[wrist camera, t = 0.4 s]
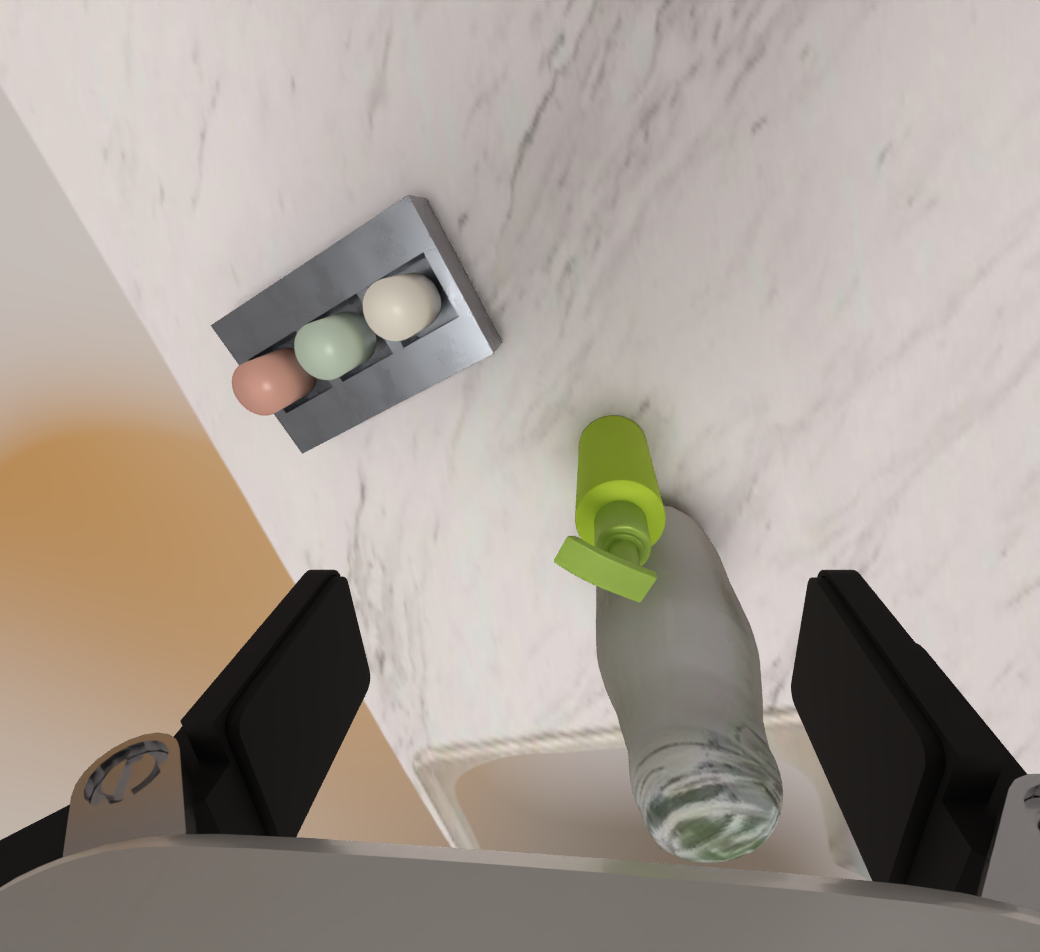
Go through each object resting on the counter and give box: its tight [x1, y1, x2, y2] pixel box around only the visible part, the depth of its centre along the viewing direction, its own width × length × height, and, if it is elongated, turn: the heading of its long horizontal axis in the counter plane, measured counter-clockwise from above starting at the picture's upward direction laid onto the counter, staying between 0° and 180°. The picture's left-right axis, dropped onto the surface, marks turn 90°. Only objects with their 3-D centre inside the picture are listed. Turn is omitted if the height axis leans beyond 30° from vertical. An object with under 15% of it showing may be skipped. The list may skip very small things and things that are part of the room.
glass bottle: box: [596, 506, 783, 862], centre depth 38 cm, size 10×10×28 cm
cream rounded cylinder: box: [363, 272, 441, 341], centre depth 37 cm, size 4×4×5 cm
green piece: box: [294, 312, 376, 380], centre depth 39 cm, size 4×4×5 cm
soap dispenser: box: [554, 416, 666, 603], centre depth 38 cm, size 6×7×20 cm
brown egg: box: [232, 347, 317, 415], centre depth 41 cm, size 4×4×5 cm
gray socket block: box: [211, 195, 502, 453], centre depth 43 cm, size 12×19×4 cm, turn 118°
